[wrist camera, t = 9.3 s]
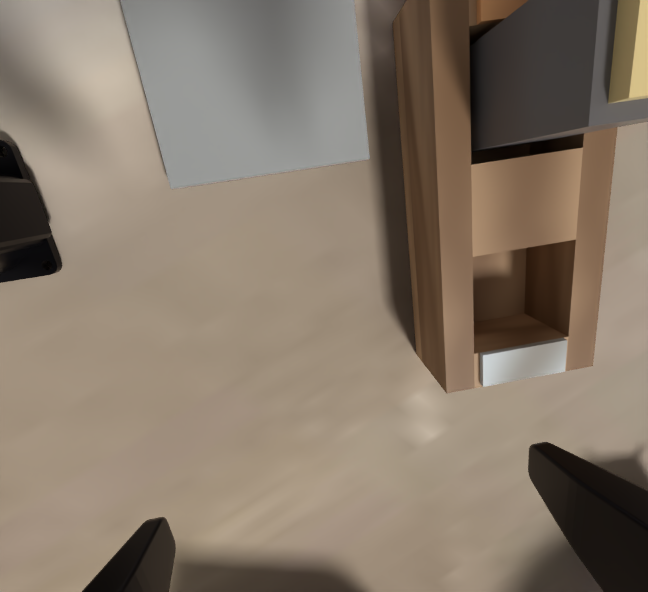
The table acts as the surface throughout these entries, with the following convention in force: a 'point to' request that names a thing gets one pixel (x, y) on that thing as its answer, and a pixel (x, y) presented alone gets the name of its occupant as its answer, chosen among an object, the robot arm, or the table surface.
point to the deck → (250, 85)
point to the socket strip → (493, 217)
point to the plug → (559, 72)
